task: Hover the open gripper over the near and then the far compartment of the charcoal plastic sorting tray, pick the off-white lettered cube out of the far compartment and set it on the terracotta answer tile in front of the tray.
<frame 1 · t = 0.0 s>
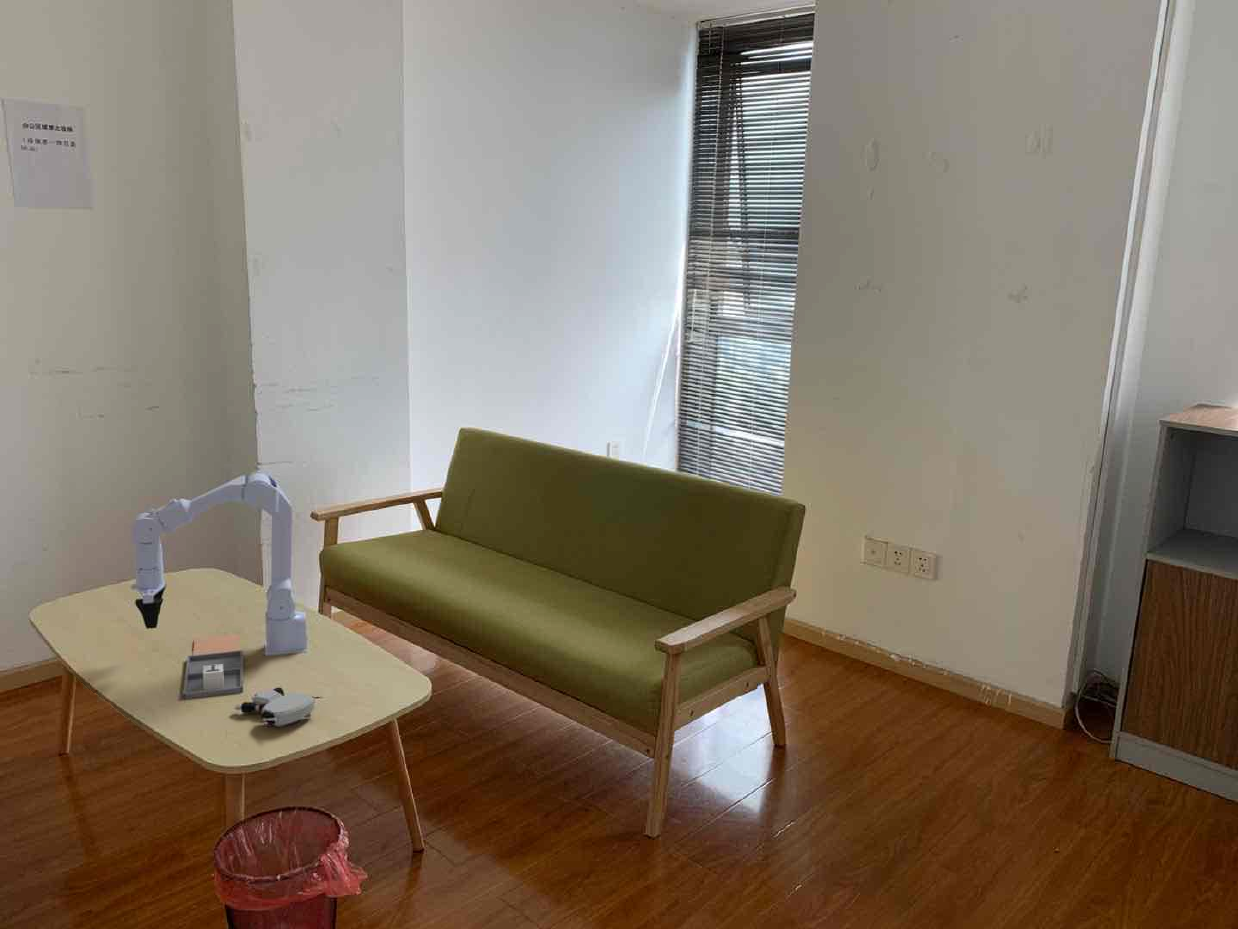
hand: (153, 621, 219), 10 cm above the table, fingers open, 7 cm apart
answer tile: (216, 647, 231), on the table
sorting tray: (214, 677, 215), on the table
letter cube: (214, 685, 211), resting on sorting tray
robot toy: (278, 716, 200), on the table
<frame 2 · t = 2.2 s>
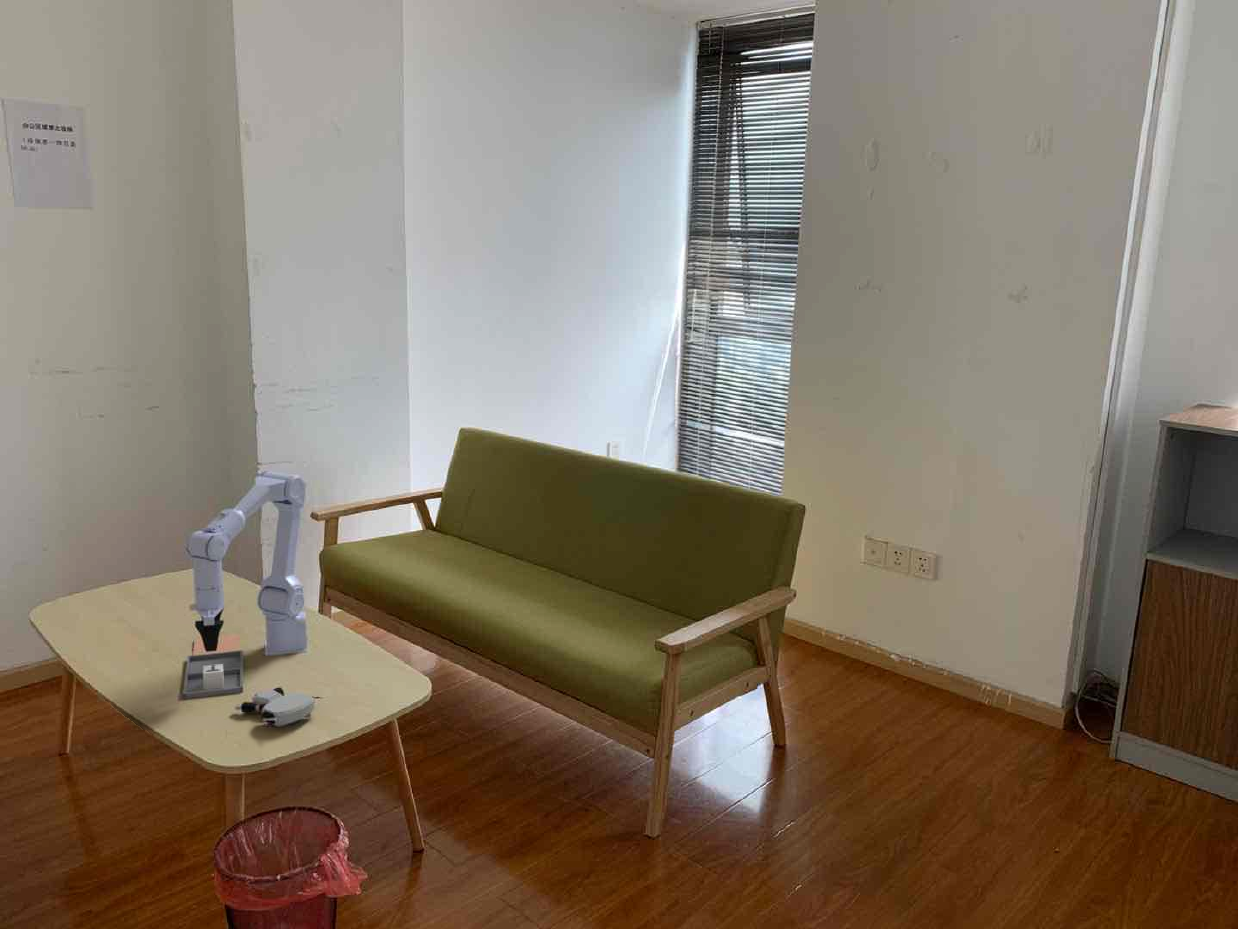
hand: (211, 643, 208), 10 cm above the table, fingers open, 7 cm apart
nothing on the table moved.
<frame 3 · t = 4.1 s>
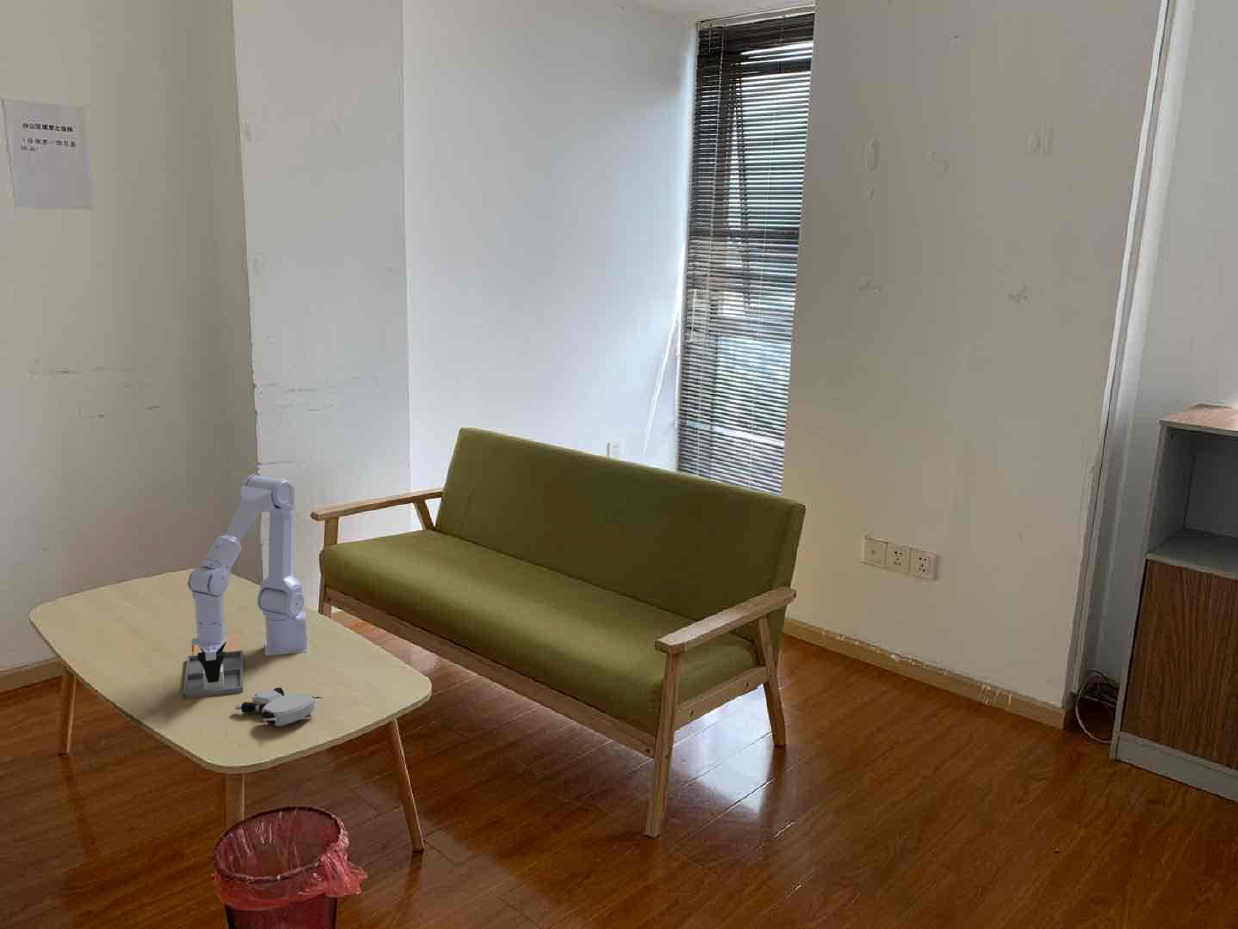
hand: (213, 677, 210), 2 cm above the table, fingers closed on letter cube, 4 cm apart
letter cube: (214, 685, 211), resting on sorting tray, touching gripper
everything else where it was.
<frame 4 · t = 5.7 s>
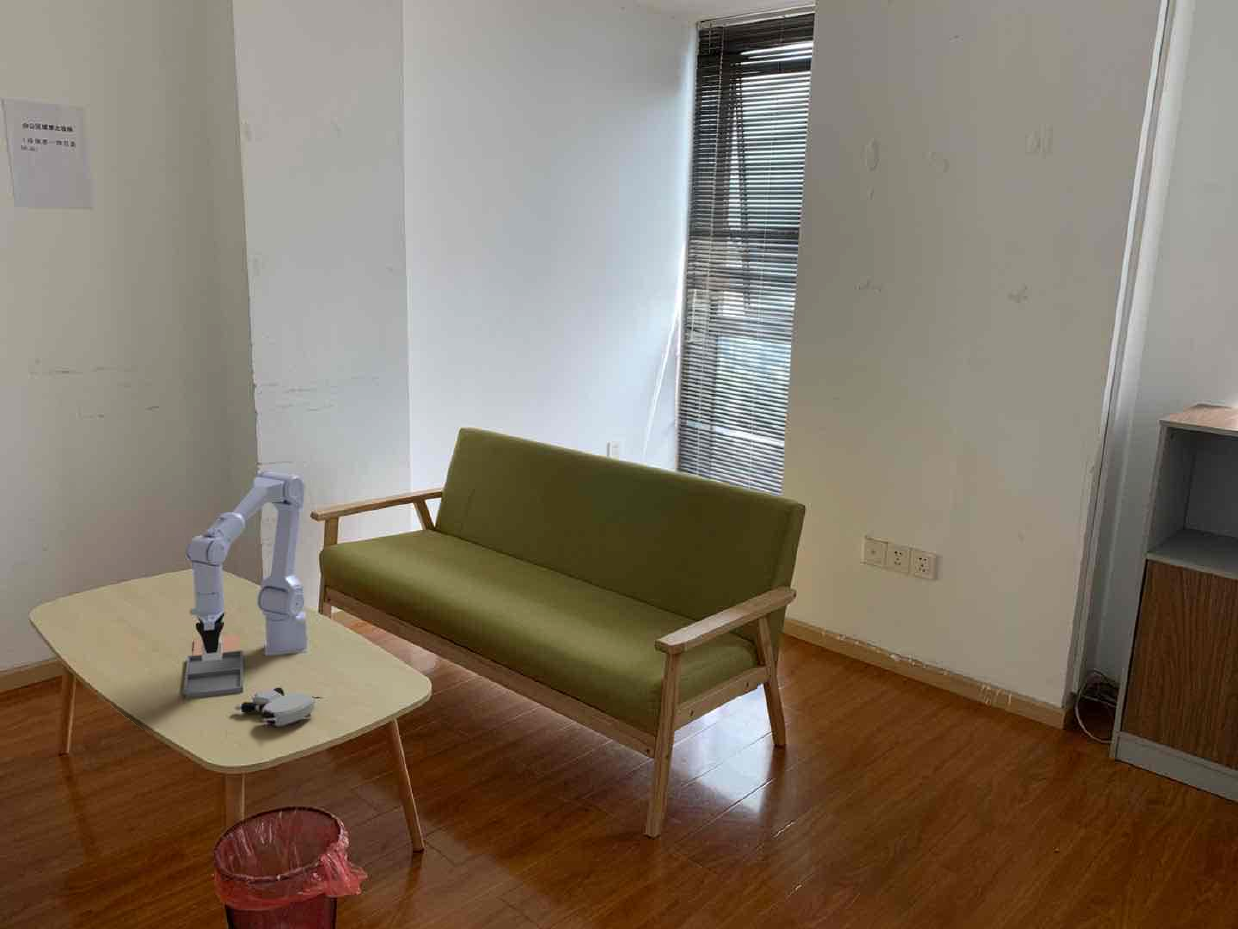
hand: (212, 648, 209), 9 cm above the table, fingers closed on letter cube, 4 cm apart
letter cube: (212, 656, 209), point 7 cm above the table, touching gripper
everything else where it was.
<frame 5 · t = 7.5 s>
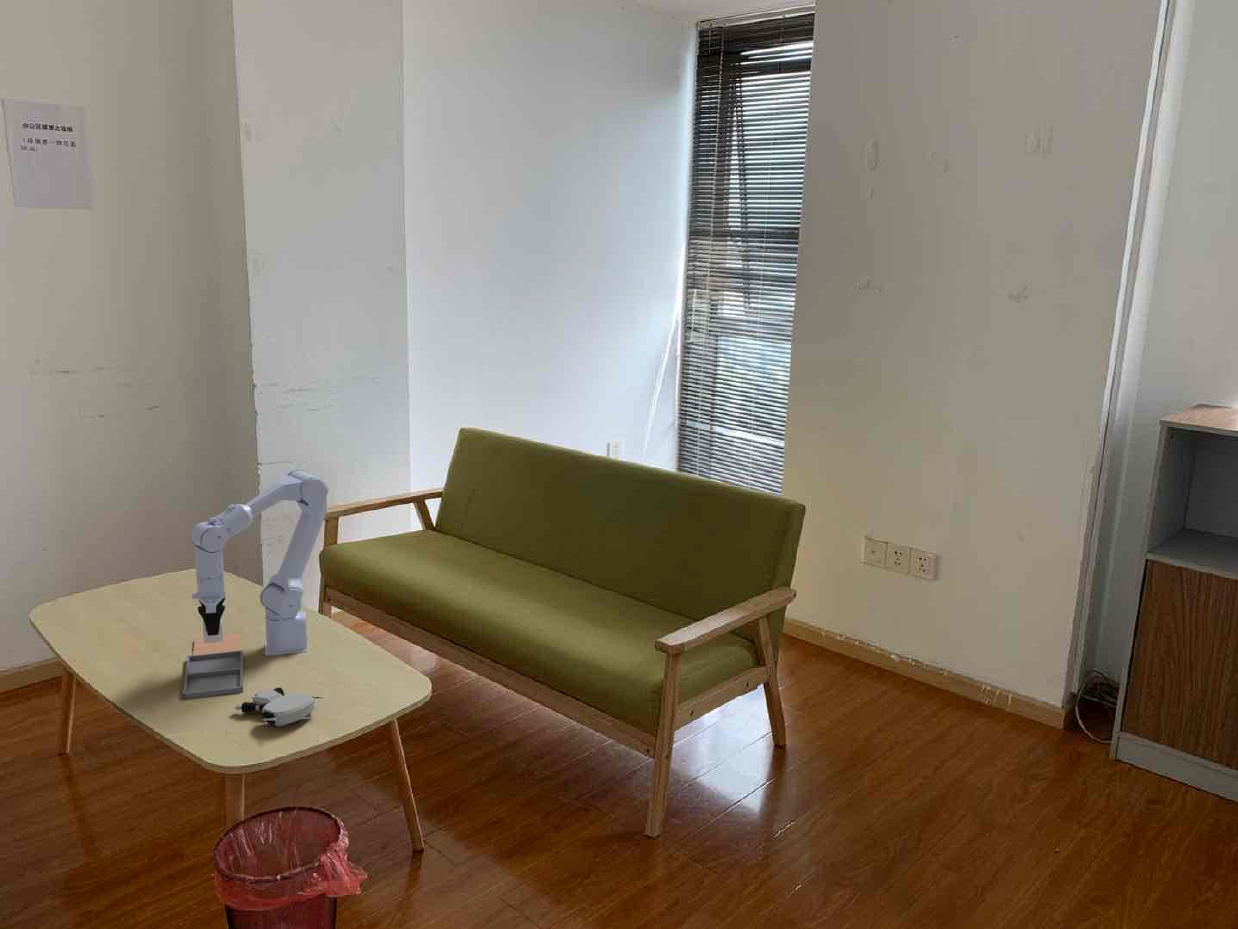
hand: (213, 630, 217), 9 cm above the table, fingers closed on letter cube, 4 cm apart
letter cube: (213, 639, 218), point 7 cm above the table, touching gripper
everything else where it was.
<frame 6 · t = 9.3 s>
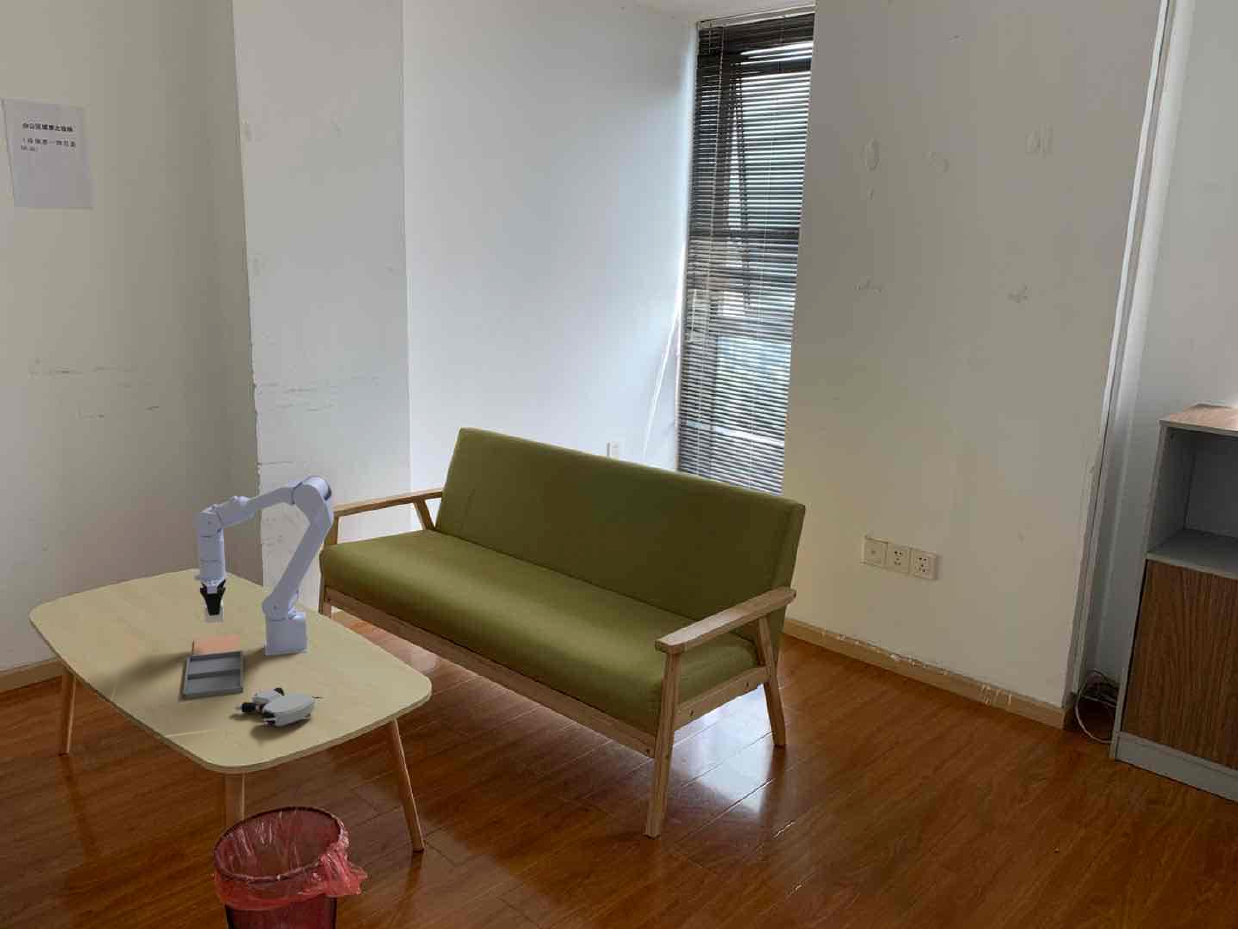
hand: (214, 611, 228), 9 cm above the table, fingers closed on letter cube, 4 cm apart
letter cube: (214, 619, 229), point 7 cm above the table, touching gripper
everything else where it was.
when the fingers open (4 cm above the table, at t = 10.8 s): letter cube drops 2 cm, resting on answer tile.
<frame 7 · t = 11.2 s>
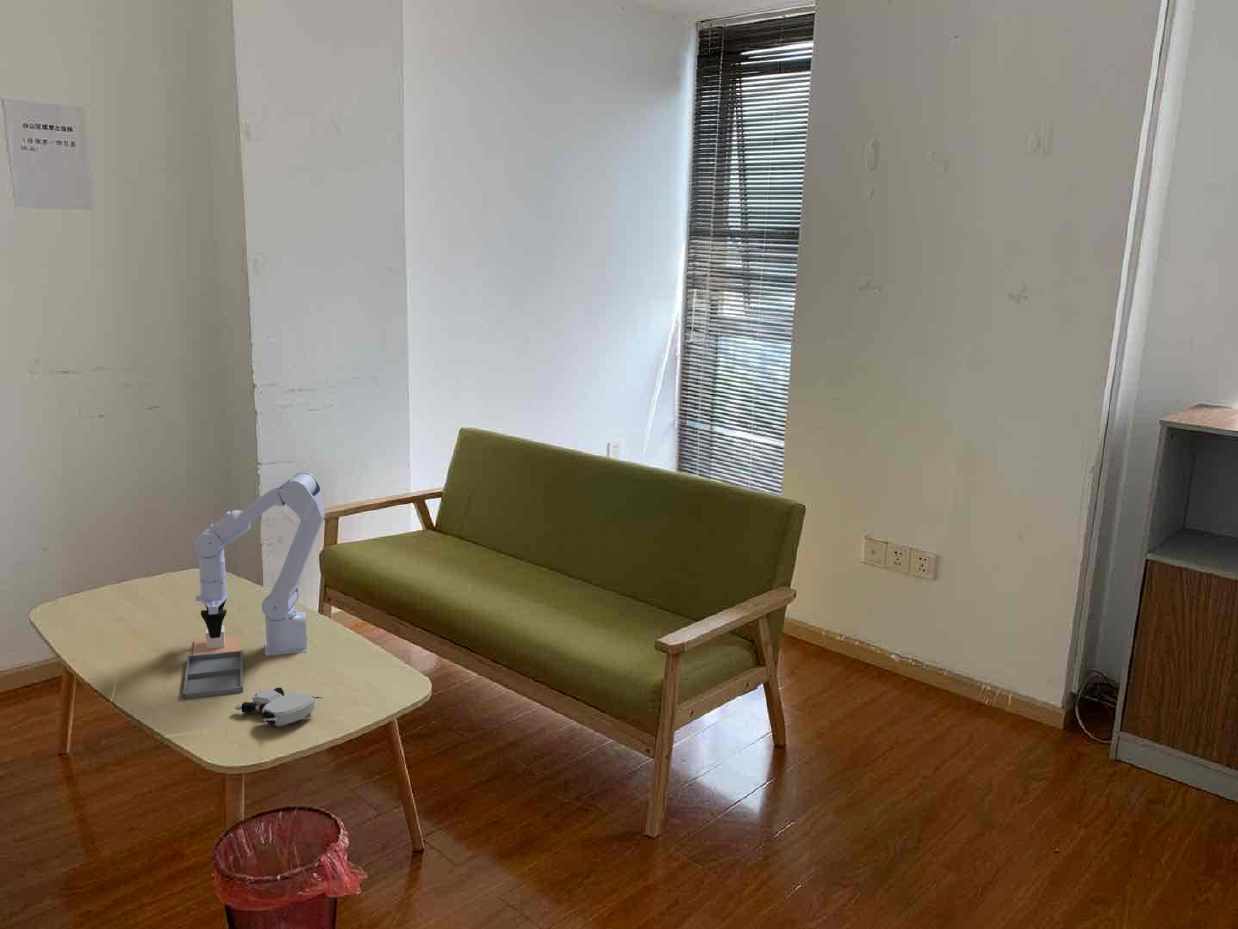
hand: (215, 631, 230), 4 cm above the table, fingers open, 7 cm apart
letter cube: (216, 644, 230), point 1 cm above the table, touching answer tile
everything else where it was.
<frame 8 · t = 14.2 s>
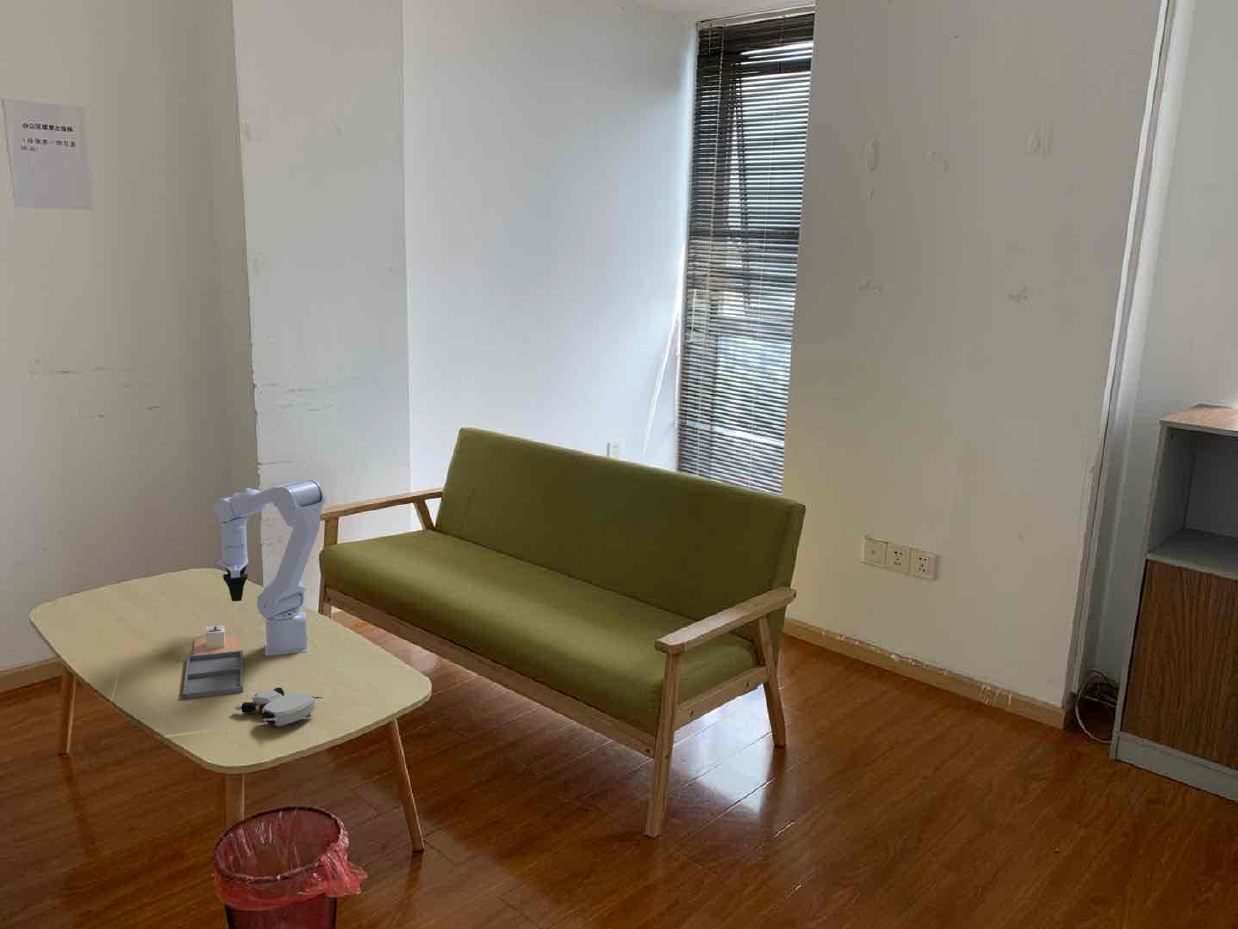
hand: (236, 595, 237), 10 cm above the table, fingers open, 7 cm apart
nothing on the table moved.
at the end: letter cube inside the target area on the answer tile (0.1 cm from its centre), point 0.6 cm above the answer tile's base; letter cube tilted 0°; the gripper is holding nothing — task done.
